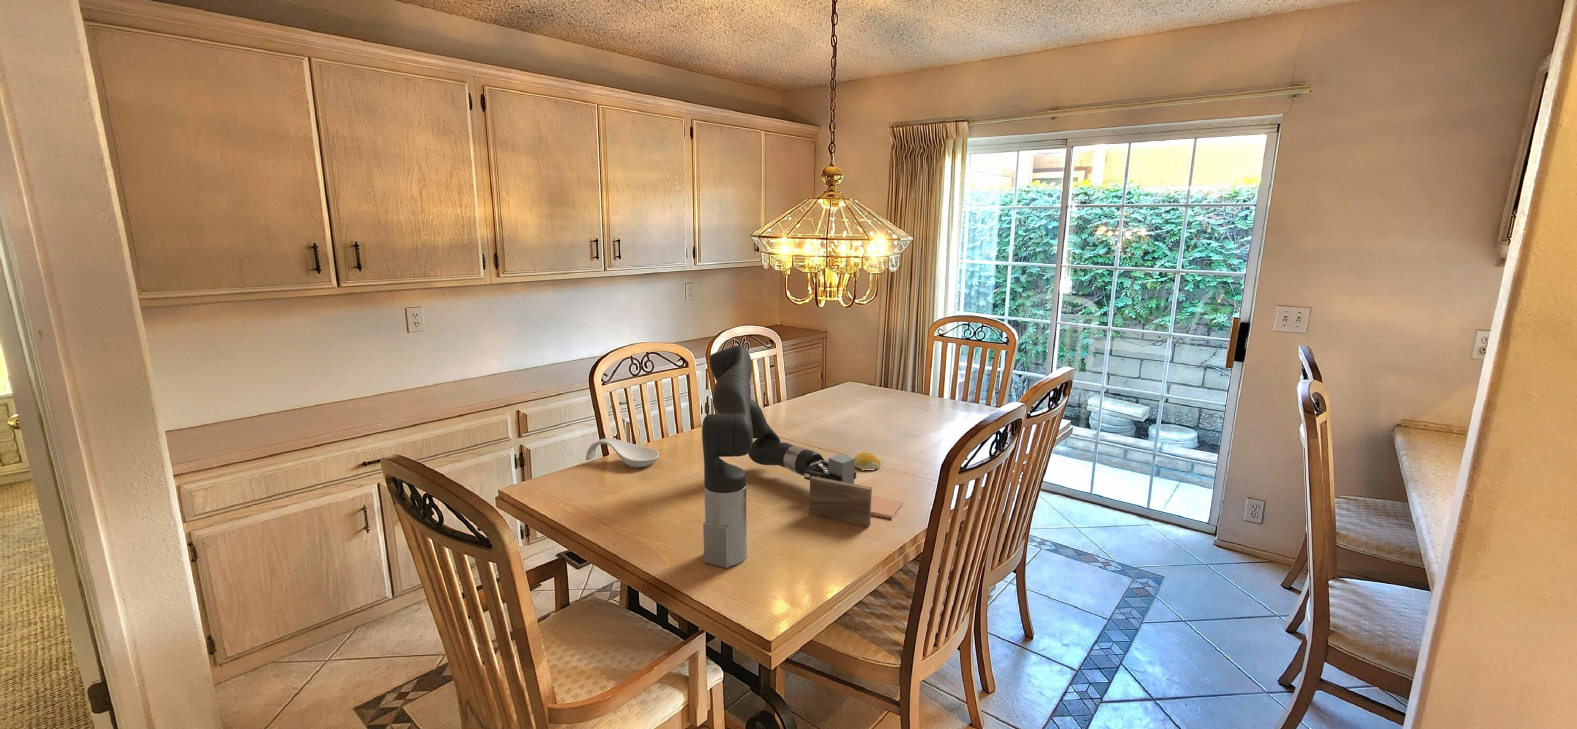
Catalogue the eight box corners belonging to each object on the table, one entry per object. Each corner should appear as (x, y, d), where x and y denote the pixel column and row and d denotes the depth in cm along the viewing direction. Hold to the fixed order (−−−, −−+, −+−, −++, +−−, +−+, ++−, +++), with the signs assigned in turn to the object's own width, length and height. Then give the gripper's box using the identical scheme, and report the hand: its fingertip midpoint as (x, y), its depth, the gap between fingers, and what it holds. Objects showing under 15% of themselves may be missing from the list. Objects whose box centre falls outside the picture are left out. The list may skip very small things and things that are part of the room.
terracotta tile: (891, 519, 164) (892, 515, 164) (854, 511, 168) (854, 508, 168) (902, 504, 173) (902, 501, 172) (867, 497, 177) (867, 494, 177)
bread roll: (873, 460, 206) (873, 448, 205) (883, 470, 197) (884, 458, 196) (848, 462, 204) (849, 450, 203) (858, 472, 195) (858, 460, 194)
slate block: (853, 500, 175) (855, 458, 172) (841, 505, 171) (843, 463, 169) (839, 494, 178) (840, 453, 176) (827, 499, 175) (828, 458, 172)
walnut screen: (868, 527, 160) (869, 489, 157) (809, 514, 166) (810, 478, 164) (870, 524, 161) (871, 487, 159) (811, 512, 168) (812, 476, 166)
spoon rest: (665, 460, 204) (664, 438, 203) (648, 473, 193) (648, 451, 191) (598, 453, 210) (597, 432, 208) (578, 466, 199) (577, 443, 197)
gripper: (785, 455, 178) (831, 472, 166) (820, 443, 188) (866, 458, 176) (784, 480, 179) (830, 499, 167) (820, 467, 189) (865, 484, 177)
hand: (848, 478), depth 172 cm, fingers closed on slate block, 5 cm apart
